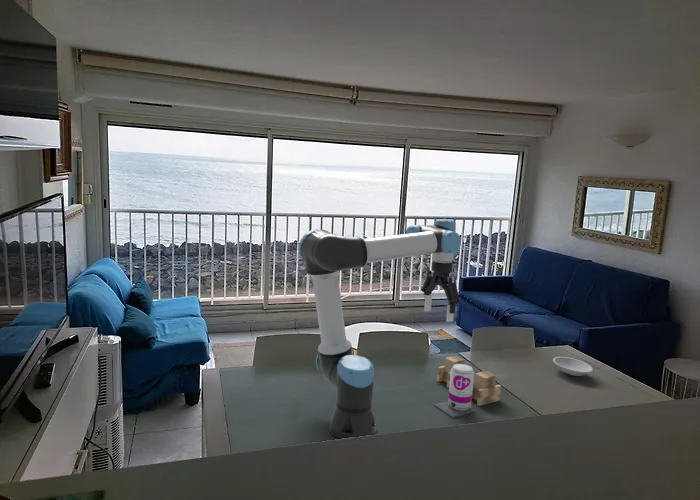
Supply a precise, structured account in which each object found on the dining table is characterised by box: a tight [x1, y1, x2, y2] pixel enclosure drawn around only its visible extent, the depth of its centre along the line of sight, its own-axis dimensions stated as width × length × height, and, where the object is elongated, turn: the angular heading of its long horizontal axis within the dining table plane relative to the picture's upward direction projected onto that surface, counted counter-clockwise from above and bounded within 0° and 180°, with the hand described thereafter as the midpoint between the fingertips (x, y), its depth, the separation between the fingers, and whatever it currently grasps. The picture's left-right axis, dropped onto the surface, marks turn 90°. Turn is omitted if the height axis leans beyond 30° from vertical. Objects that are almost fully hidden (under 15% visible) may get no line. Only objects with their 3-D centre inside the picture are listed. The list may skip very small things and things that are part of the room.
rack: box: [436, 355, 502, 407], centre depth 194 cm, size 11×24×10 cm, turn 30°
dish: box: [552, 356, 594, 377], centre depth 215 cm, size 18×14×5 cm
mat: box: [433, 400, 475, 419], centre depth 178 cm, size 10×10×1 cm
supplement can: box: [447, 363, 475, 411], centre depth 178 cm, size 8×8×15 cm
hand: (438, 316), depth 185 cm, fingers open, 13 cm apart
